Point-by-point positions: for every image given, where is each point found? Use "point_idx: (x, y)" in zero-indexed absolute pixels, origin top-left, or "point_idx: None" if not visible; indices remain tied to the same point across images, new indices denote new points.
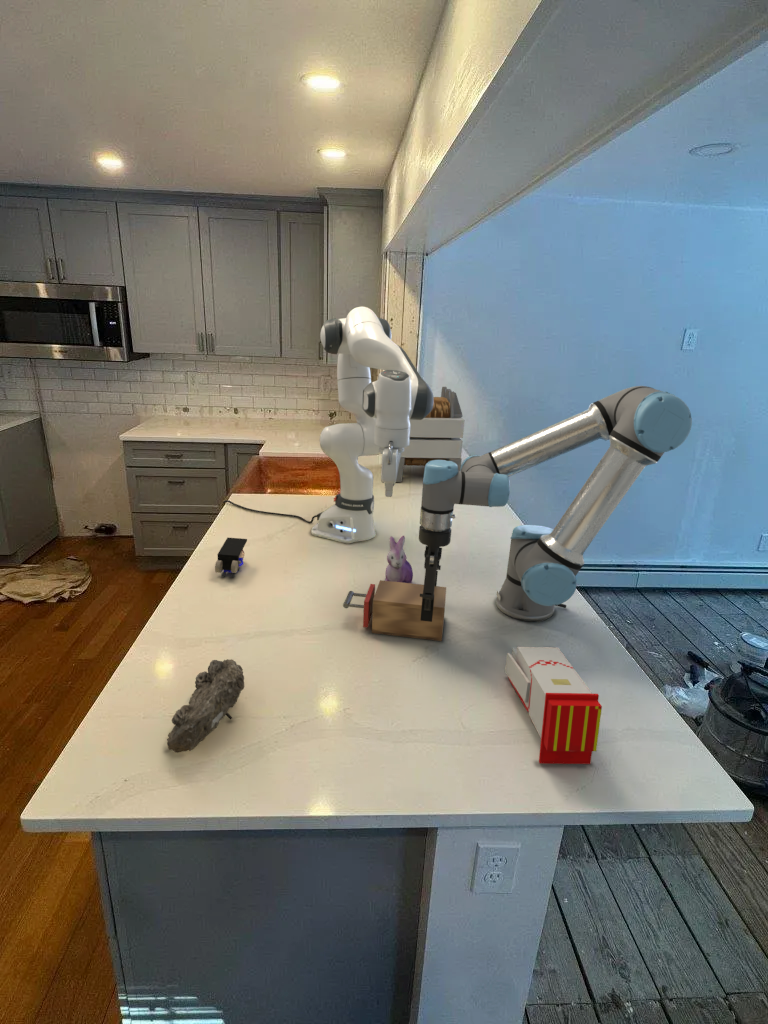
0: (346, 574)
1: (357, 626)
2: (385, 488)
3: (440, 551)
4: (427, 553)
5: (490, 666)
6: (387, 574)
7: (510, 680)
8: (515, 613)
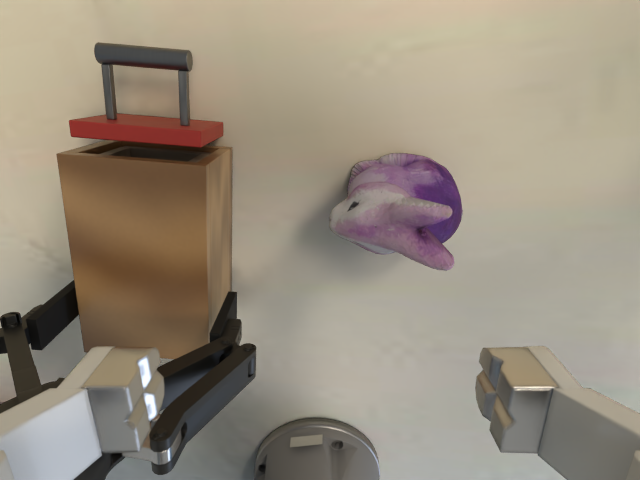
0: (467, 11)
1: (137, 94)
2: (22, 406)
3: None
4: None
5: None
6: (360, 174)
7: None
8: (260, 452)
